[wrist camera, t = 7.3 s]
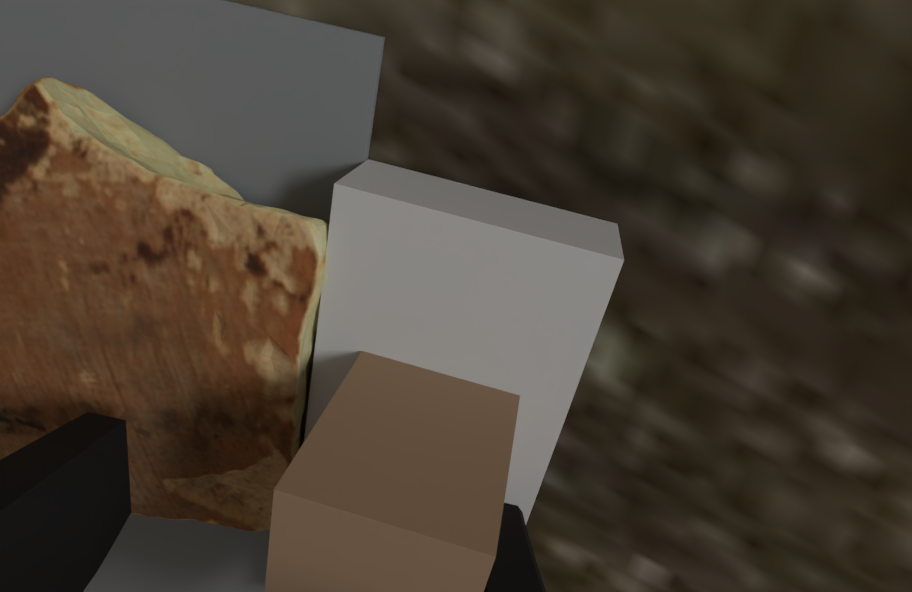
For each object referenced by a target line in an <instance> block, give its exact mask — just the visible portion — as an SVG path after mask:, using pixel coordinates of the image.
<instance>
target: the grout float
mask: <svg viewBox="0 0 912 592" xmlns="http://www.w3.org/2000/svg"><path fill="white" fill-rule="evenodd" d="M623 261H624V257H623V252H622V246H621V241H620V236H619V230H618V225H617V224H616V223H612V222H608V221H604V220H600V219H597V218H593V217H589V216H585V215H581V214H577V213H574V212H570V211H566V210H562V209H558V208H554V207H550V206H547V205H543V204H539V203H535V202H531V201H527V200H523V199H520V198H516V197H512V196H508V195H504V194H500V193H496V192H493V191H489V190H485V189H481V188H477V187H473V186H470V185H466V184H462V183H458V182H454V181H450V180H446V179H443V178H439V177H435V176H431V175H427V174H423V173H419V172H416V171H412V170H408V169H404V168H400V167H396V166H392V165H389V164H385V163H381V162H377V161H373V160H369V159H368V160H367V161H365V162H364V163H363V164H361V165H360V166H358V167H357V168H355V169H354V170H353V171H351V172H350V173H348V174H347V175H345V176H344V177H343V178H341V179H340V180H338V181H337V182H335V183H334V189H333V197H332V206H331V214H330V223H329V231H328V240H327V248H326V263H327V280H326V283H325V285H324V287H323V289H322V291H321V299H320V308H319V317H318V325H317V334H316V342H315V351H314V359H313V368H312V376H311V385H310V393H309V402H308V410H307V419H306V427H305V436H304V443H303V444H302V446H301V448H300V449H299V451H298V452H297V454H296V455H295V457H294V459H293V460H292V462H291V463H290V465H289V466H288V468H287V470H286V471H285V473H284V474H283V476H282V477H281V479H280V481H279V482H278V484H277V485H276V487H275V488H274V494H273V505H272V516H271V527H270V537H269V548H268V559H267V570H266V581H265V592H484V589H485V587H486V584H487V581H488V578H489V575H490V572H491V569H492V567H493V564H494V561H495V558H496V553H497V546H498V539H499V533H500V526H501V520H502V513H503V506H504V503H508V504H513V505H517V506H518V507H519V508H520V509H521V511H522V512H523V517H524V521H525V525H526V523H527V521H528V518H529V515H530V513H531V510H532V507H533V504H534V502H535V499H536V496H537V494H538V491H539V488H540V486H541V483H542V480H543V477H544V475H545V472H546V469H547V467H548V464H549V461H550V459H551V456H552V453H553V450H554V448H555V445H556V442H557V440H558V437H559V434H560V432H561V429H562V426H563V423H564V421H565V418H566V415H567V413H568V410H569V407H570V405H571V402H572V399H573V396H574V394H575V391H576V388H577V386H578V383H579V380H580V378H581V375H582V372H583V369H584V367H585V364H586V361H587V359H588V356H589V353H590V351H591V348H592V345H593V342H594V340H595V337H596V334H597V332H598V329H599V326H600V324H601V321H602V318H603V315H604V313H605V310H606V307H607V305H608V302H609V299H610V297H611V294H612V291H613V288H614V286H615V283H616V280H617V278H618V275H619V272H620V270H621V267H622V264H623Z"/></svg>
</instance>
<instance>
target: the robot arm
mask: <svg viewBox="0 0 912 592" xmlns="http://www.w3.org/2000/svg"><path fill="white" fill-rule="evenodd" d="M130 514H131V495H130V479H129V462H128V446H127V429H126V420H123V419H118V418H113V417H109V416H104V415H100V414H95V413H91V412H87V413H85V414H83V415H81V416H79V417H77V418H76V419H74V420H72V421H70V422H68V423H66V424H64V425H62V426H61V427H59V428H57V429H55V430H53V431H51V432H50V433H48V434H46V435H44V436H42V437H41V438H39V439H37V440H35V441H33V442H32V443H30V444H28V445H26V446H24V447H23V448H21V449H19V450H17V451H15V452H14V453H12V454H10V455H8V456H6V457H5V458H3V459H1V460H0V592H83V591H84V589H85V588H86V587H87V585H88V584H89V582H90V581H91V580H92V578H93V577H94V576H95V574H96V573H97V571H98V569H99V568H100V566H101V564H102V563H103V561H104V559H105V557H106V556H107V554H108V552H109V551H110V549H111V547H112V546H113V544H114V542H115V540H116V539H117V537H118V535H119V533H120V532H121V530H122V528H123V526H124V524H125V523H126V521H127V519H128V517H129V516H130ZM484 592H546V590H545V587H544V584H543V581H542V578H541V575H540V572H539V569H538V566H537V563H536V560H535V556H534V553H533V550H532V546H531V543H530V539H529V536H528V532H527V528H526V525H525V521H524V517H523V512H522V511H521V509H520V508H519V507H518V506H517V505H513V504H508V503H504V506H503V513H502V520H501V526H500V533H499V539H498V546H497V553H496V558H495V561H494V564H493V567H492V569H491V572H490V575H489V578H488V581H487V584H486V587H485V589H484Z"/></svg>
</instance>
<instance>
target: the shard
mask: <svg viewBox="0 0 912 592" xmlns="http://www.w3.org/2000/svg"><path fill="white" fill-rule="evenodd" d="M328 231H329V224H327V223H326V222H325V221H323V220H320V219H316V218H311V217H306V216H301V215H299V214H296V213H293V212H290V211H287V210H284V209H279V208H274V207H269V206H263V205H258V204H253V203H250V202H247V201H245V200H244V199H243V198H242V197H241V196H240V194H239V193H238V192H237V191H236V190H234V189H233V188H232V187H230V186H229V185H228V184H226V183H225V182H224V181H222V180H221V179H220V178H218V177H217V176H216V175H214V173H213V170H212V169H211V168H209V167H207V166H205V165H204V164H202V163H200V162H198V161H195V160H193V159H190V158H187V157H185V156H182V155H181V154H179V153H178V152H177V151H176V150H175V149H173V148H172V147H171V146H170V145H168V144H167V143H166V142H165V141H163V140H162V139H160V138H159V137H157V136H155V135H154V134H152V133H151V132H149V131H147V130H146V129H144V128H143V127H141V126H139V125H138V124H136V123H134V122H132V121H131V120H129V119H127V118H125V117H124V116H123V115H121V114H120V113H119V112H117V111H116V110H115V109H113V108H112V107H111V106H109V105H108V104H107V103H105V102H104V101H103V100H101V99H100V98H99V97H97V96H96V95H95V94H93V93H91V92H89V91H88V90H86V89H83V88H81V87H78V86H75V85H72V84H67V83H64V82H62V81H59V80H57V79H55V78H52V77H41V78H39V79H38V80H36V81H34V82H32V83H31V84H30V85H28V86H27V87H26V88H25V89H23V90H22V91H21V92H20V93H19V95H18V97H17V100H16V102H15V103H14V104H13V106H12V107H11V108H10V109H9V111H8V112H7V113H6V114H5V115H3V116H1V117H0V460H1V459H3V458H5V457H6V456H8V455H10V454H12V453H14V452H15V451H17V450H19V449H21V448H23V447H24V446H26V445H28V444H30V443H32V442H33V441H35V440H37V439H39V438H41V437H42V436H44V435H46V434H48V433H50V432H51V431H53V430H55V429H57V428H59V427H61V426H62V425H64V424H66V423H68V422H70V421H72V420H74V419H76V418H77V417H79V416H81V415H83V414H85V413H87V412H91V413H95V414H100V415H104V416H109V417H113V418H118V419H123V420H126V429H127V446H128V462H129V479H130V495H131V513H132V514H138V515H144V516H150V517H161V518H165V519H169V520H191V519H194V520H197V521H201V522H206V523H211V524H217V525H222V526H228V527H232V528H236V529H241V530H246V531H253V532H254V531H263V530H270V527H271V516H272V505H273V494H274V488H275V487H276V485H277V484H278V482H279V481H280V479H281V477H282V476H283V474H284V473H285V471H286V470H287V468H288V466H289V465H290V463H291V462H292V460H293V459H294V457H295V455H296V454H297V452H298V451H299V449H300V448H301V446H302V444H303V443H304V436H305V427H306V419H307V410H308V402H309V393H310V385H311V376H312V368H313V359H314V351H315V342H316V334H317V325H318V317H319V308H320V299H321V291H322V289H323V287H324V285H325V283H326V280H327V263H326V248H327V240H328Z"/></svg>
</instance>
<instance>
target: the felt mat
mask: <svg viewBox="0 0 912 592" xmlns="http://www.w3.org/2000/svg"><path fill="white" fill-rule="evenodd" d="M384 41H385V37H383V36H378V35H374V34H370V33H365V32H361V31H357V30H352V29H348V28H344V27H339V26H335V25H331V24H327V23H322V22H318V21H314V20H309V19H305V18H301V17H296V16H292V15H288V14H283V13H279V12H275V11H271V10H266V9H262V8H258V7H253V6H249V5H245V4H240V3H236V2H232V1H227V0H0V117H1V116H3V115H5V114H6V113H7V112H8V111H9V109H10V108H11V107H12V106H13V104H14V103H15V102H16V100H17V97H18V95H19V93H20V92H21V91H22V90H23V89H25V88H26V87H27V86H28V85H30V84H31V83H32V82H34V81H36V80H38V79H39V78H41V77H52V78H55V79H57V80H59V81H62V82H64V83H67V84H72V85H75V86H78V87H81V88H83V89H86V90H88V91H89V92H91V93H93V94H95V95H96V96H97V97H99V98H100V99H101V100H103V101H104V102H105V103H107V104H108V105H109V106H111V107H112V108H113V109H115V110H116V111H117V112H119V113H120V114H121V115H123V116H124V117H125V118H127V119H129V120H131V121H132V122H134V123H136V124H138V125H139V126H141V127H143V128H144V129H146V130H147V131H149V132H151V133H152V134H154V135H155V136H157V137H159V138H160V139H162V140H163V141H165V142H166V143H167V144H168V145H170V146H171V147H172V148H173V149H175V150H176V151H177V152H178V153H179V154H181V155H182V156H185V157H187V158H190V159H193V160H195V161H198V162H200V163H202V164H204V165H205V166H207V167H209V168H211V169H212V170H213V173H214V175H216V176H217V177H218V178H220V179H221V180H222V181H224V182H225V183H226V184H228V185H229V186H230V187H232V188H233V189H234V190H236V191H237V192H238V193H239V194H240V196H241V197H242V198H243V199H244V200H245V201H247V202H250V203H253V204H258V205H263V206H269V207H274V208H279V209H284V210H287V211H290V212H293V213H296V214H299V215H301V216H306V217H311V218H316V219H320V220H323V221H325V222H326V223H327V224H329V223H330V214H331V206H332V197H333V189H334V183H335V182H337V181H338V180H340V179H341V178H343V177H344V176H345V175H347V174H348V173H350V172H351V171H353V170H354V169H355V168H357V167H358V166H360V165H361V164H363V163H364V162H365V161H367V160H368V155H369V148H370V141H371V134H372V126H373V119H374V112H375V105H376V98H377V91H378V84H379V77H380V70H381V63H382V55H383V48H384ZM269 537H270V530H263V531H254V532H253V531H246V530H241V529H236V528H232V527H228V526H222V525H217V524H211V523H206V522H201V521H197V520H194V519H191V520H169V519H165V518H161V517H150V516H144V515H138V514H132V513H131V514H130V516H129V517H128V519H127V521H126V523H125V524H124V526H123V528H122V530H121V532H120V533H119V535H118V537H117V539H116V540H115V542H114V544H113V546H112V547H111V549H110V551H109V552H108V554H107V556H106V557H105V559H104V561H103V563H102V564H101V566H100V568H99V569H98V571H97V573H96V574H95V576H94V577H93V578H92V580H91V581H90V582H89V584H88V585H87V587H86V588H85V589H84V591H83V592H265V581H266V570H267V559H268V548H269Z"/></svg>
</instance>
